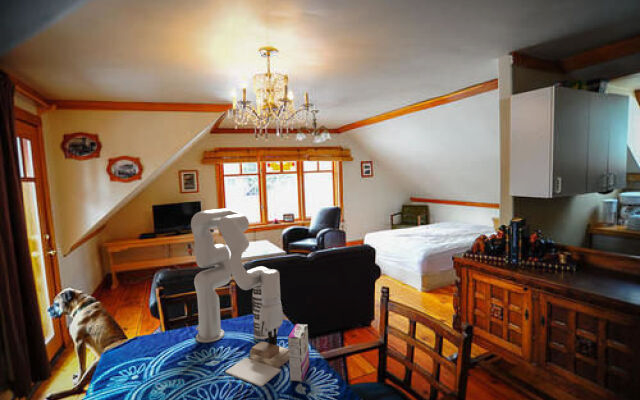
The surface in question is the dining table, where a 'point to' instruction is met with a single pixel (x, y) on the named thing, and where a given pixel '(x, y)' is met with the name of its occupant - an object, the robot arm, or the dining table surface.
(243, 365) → the off-white mat
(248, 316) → the dining table surface
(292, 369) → the candy bar box
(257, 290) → the decorative candle
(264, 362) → the birch stand
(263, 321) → the robot arm
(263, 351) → the walnut tile
